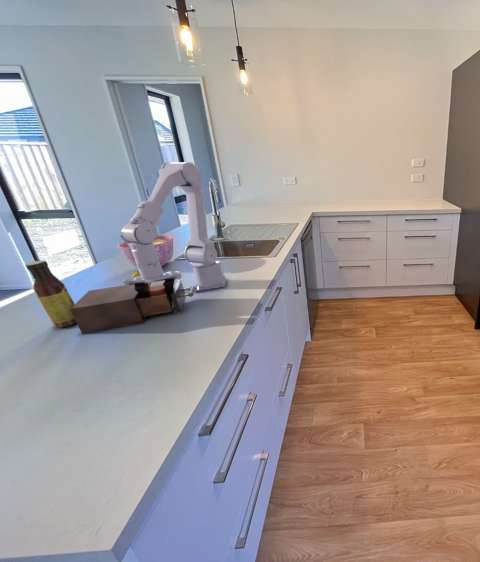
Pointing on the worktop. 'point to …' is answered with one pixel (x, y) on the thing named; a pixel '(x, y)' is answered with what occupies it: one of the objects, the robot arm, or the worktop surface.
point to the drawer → (164, 301)
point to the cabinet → (107, 309)
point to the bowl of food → (161, 245)
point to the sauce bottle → (52, 294)
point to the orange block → (157, 291)
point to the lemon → (138, 275)
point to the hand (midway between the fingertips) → (161, 302)
